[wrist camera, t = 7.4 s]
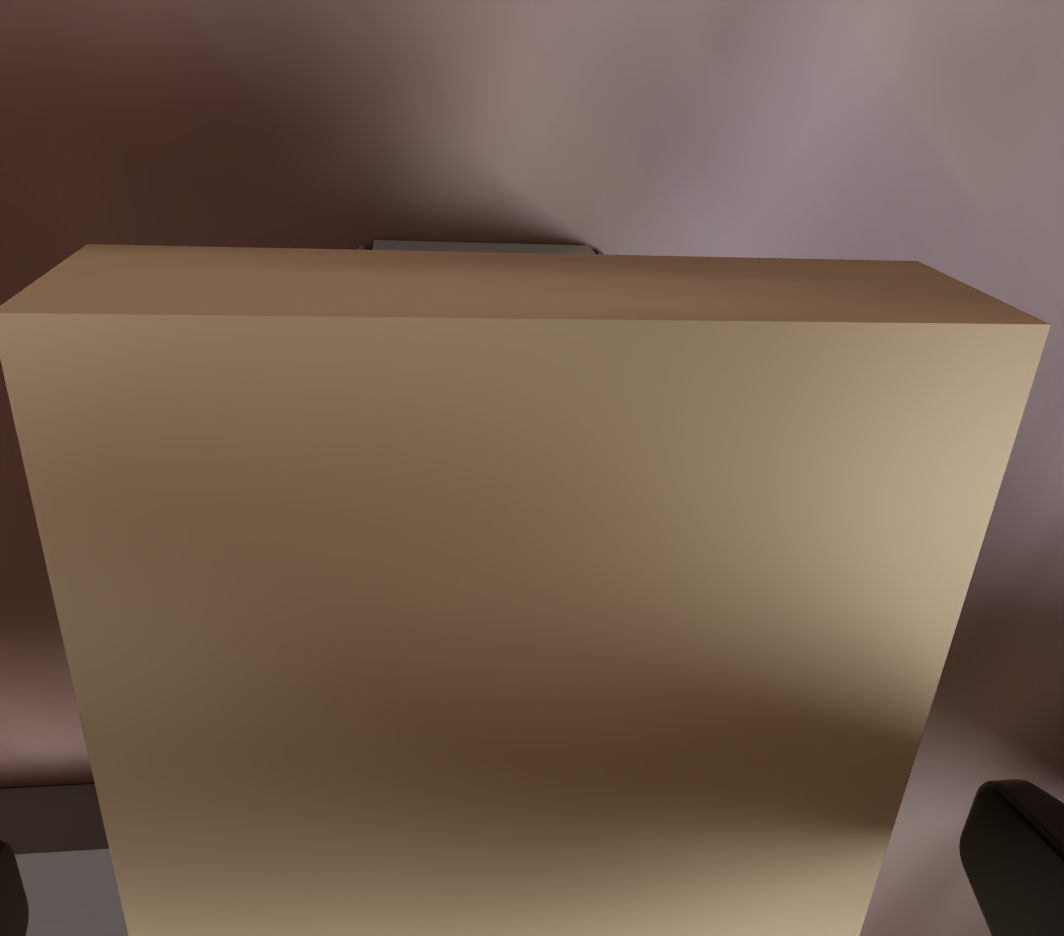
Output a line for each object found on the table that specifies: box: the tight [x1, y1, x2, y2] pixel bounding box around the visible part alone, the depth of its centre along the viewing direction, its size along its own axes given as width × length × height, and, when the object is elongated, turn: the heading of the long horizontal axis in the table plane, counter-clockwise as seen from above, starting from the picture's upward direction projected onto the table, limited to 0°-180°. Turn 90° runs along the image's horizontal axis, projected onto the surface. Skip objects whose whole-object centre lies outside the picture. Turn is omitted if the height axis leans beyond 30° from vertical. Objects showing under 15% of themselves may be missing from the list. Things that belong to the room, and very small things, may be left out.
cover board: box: [0, 244, 1051, 936], centre depth 9 cm, size 10×8×2 cm
